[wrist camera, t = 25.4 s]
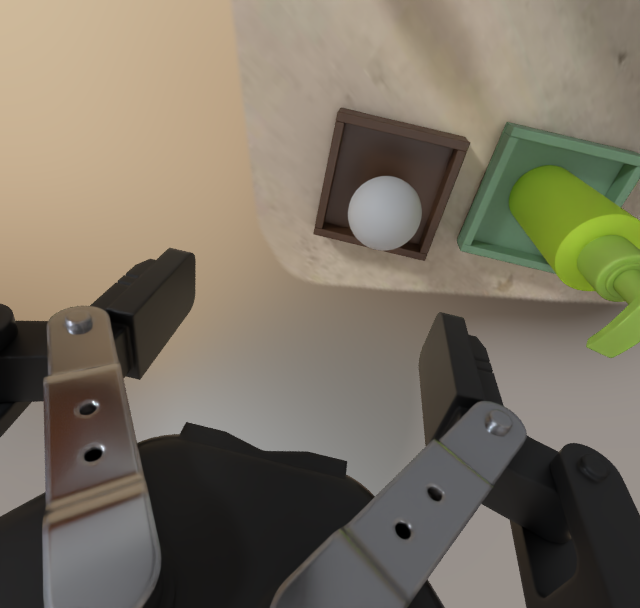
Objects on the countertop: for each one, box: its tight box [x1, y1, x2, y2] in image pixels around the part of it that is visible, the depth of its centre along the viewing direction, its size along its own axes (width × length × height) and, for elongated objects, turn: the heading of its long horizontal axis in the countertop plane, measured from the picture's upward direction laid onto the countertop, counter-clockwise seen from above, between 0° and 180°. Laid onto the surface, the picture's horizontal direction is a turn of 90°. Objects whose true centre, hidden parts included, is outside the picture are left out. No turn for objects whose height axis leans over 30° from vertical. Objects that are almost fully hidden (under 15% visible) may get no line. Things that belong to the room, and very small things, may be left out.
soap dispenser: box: [509, 165, 640, 358], centre depth 31 cm, size 6×7×20 cm
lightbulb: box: [348, 176, 422, 251], centre depth 36 cm, size 6×6×11 cm
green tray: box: [457, 122, 640, 274], centre depth 38 cm, size 12×12×3 cm
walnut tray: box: [314, 108, 470, 261], centre depth 40 cm, size 12×12×3 cm
